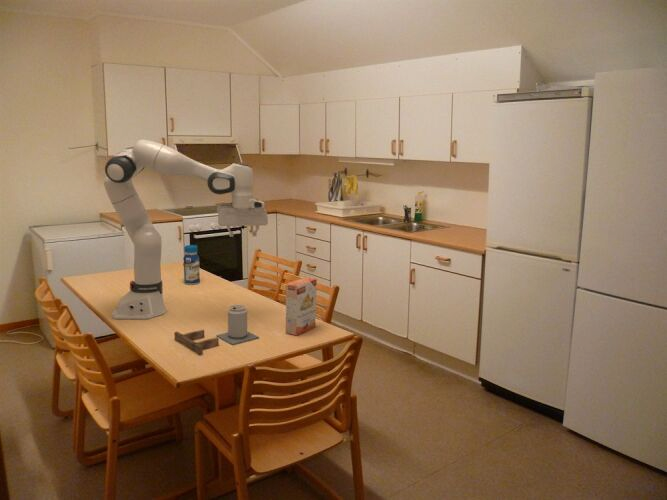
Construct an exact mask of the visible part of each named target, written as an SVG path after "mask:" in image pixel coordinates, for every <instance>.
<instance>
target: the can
mask: <svg viewBox="0 0 667 500" xmlns="http://www.w3.org/2000/svg"><path fill="white" fill-rule="evenodd" d="M228 308H229V309H228V310H227V332H228V335H229V336H230V337H231V338H235V339H239V338H244V337H245V336H246V335H247V331H248V310H247V308H246V306H245V305H242V304H232V305H231V306H229V307H228Z"/></svg>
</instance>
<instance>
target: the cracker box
mask: <svg viewBox="0 0 667 500" xmlns="http://www.w3.org/2000/svg"><path fill="white" fill-rule="evenodd" d="M317 281H318V279H317V278H313V277H307V276H306V277H302V278H300V279H296V280H293V281H290V282H288V283H286V285H285V287H286V288H285V334H287V335H291V336H299V335H301V334H302V333H305V332H307V331H309V330H311V329H314V328H315V327H316V319H317V317H316V313H317V311H316V309H317Z"/></svg>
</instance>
